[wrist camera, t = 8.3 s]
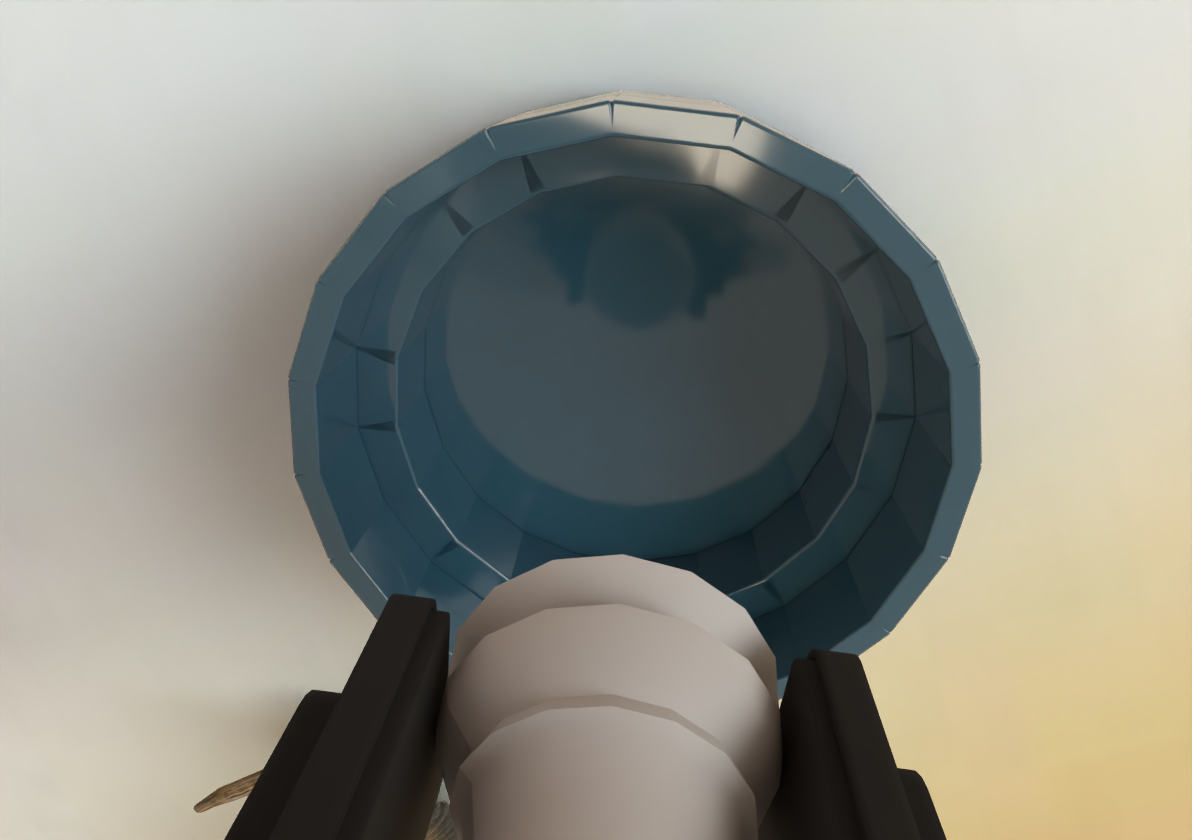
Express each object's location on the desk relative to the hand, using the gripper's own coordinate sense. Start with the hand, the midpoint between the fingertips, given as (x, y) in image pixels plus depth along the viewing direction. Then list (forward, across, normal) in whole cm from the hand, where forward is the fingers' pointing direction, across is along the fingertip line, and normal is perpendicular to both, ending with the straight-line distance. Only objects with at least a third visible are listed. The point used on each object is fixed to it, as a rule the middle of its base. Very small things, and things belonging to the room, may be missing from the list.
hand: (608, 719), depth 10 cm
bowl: (+12, 0, 0) cm, 12 cm away
